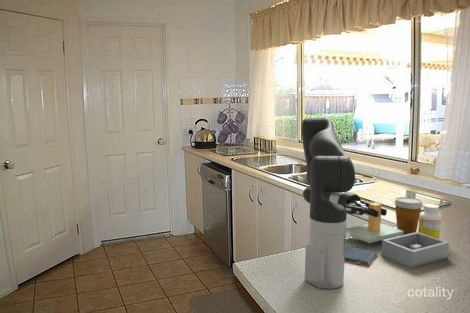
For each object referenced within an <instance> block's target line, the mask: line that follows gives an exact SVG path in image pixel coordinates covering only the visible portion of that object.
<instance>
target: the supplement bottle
mask: <svg viewBox="0 0 470 313" xmlns="http://www.w3.org/2000/svg"><path fill="white" fill-rule="evenodd" d="M422 210H423V211H421V212H420V216H419V221H418V229H417V230H418V231H417V232H419V233H422V234H425V235H428V236H431V237H434V238H437V239H440V240H441V234H442V233H441V232H442V231H441V229H442V220H443V218H442V217H443V216H442V214H440V213H439V210H440V206H439V205H437V204H433V203H426V204H424V203H423V206H422Z"/></svg>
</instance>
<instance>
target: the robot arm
mask: <svg viewBox="0 0 470 313" xmlns="http://www.w3.org/2000/svg"><path fill="white" fill-rule="evenodd" d="M301 140H302V147H303V154H304V157H305V166H306V180H307V184H309V185H308V186H307V187H306V188H304V189H303V192H302V197H303V199H304V201H306V203H308V204H309V227H308V244H307V245H306V246H305V252H304V253H305V256H304V257H305V258H304V259H305V260H304V280H305V281H306V282H307V283H309V284H311V285H312V286H314V287H315V288H317V289H319V290H321V289H329V290H330V289H331V290H333V289H338V288H340V287H342V286H343V285H344V283H345V281H344V280H345V246H346V235H347V232H346V228H347V214H349V215H358V216H363V215H365V216H369V215H371V216H374V217H378V215H379V211H378V210H374V209H371V208H369V204H371V203H378V202H376V201H375V200H371V201H366V200H364V199H361V198H360V195H358V194H356V193H353V192H350V191H351V190H352V189H353V187H354V185H355V183H356V171H355V166H354V163H353V161H352V160H351V158H350V156H349V155H348V154H347V153H346V152H345V151H344V150H343V147H342V144H341V141H340V140H339V138H338V136H337V134H336V132H335V127H334V123H333V121H332V119H331V118H329V117H327V116H321V117H308V118H304V119H303V120H302V122H301ZM387 210H388V209H386V208H383V207H381V216H383V217H385V216H387V212H388V211H387Z"/></svg>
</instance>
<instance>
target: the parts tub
mask: <svg viewBox="0 0 470 313" xmlns="http://www.w3.org/2000/svg"><path fill="white" fill-rule="evenodd" d="M449 248H450V242H448V241H445V240H442V239H441V238H440V239H437V238H434V237H431V236H428V235H425V234H422V233H419V232H418V231H416V232H415V233H410V234H401V235H397V237H393V238H389V239H384V240H381V253H380V254H381V257H384V258H386V259H388V260H391V261H393V262H396V263H398V264H400V265H403V266H405V267H407V268H409V269H412V270H413V269H417V268H420V267H424V266H427V265H430V264H434V263H437V262H441V261H444V260H447V259H449Z"/></svg>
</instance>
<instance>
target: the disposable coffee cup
mask: <svg viewBox="0 0 470 313" xmlns="http://www.w3.org/2000/svg"><path fill="white" fill-rule="evenodd" d="M393 204H394V206H395V219H396V229H399V230H402V231H404V234H403V235H406V234H410V233H415V232H418V231H417V230H418V227H419V216H420V213H421V212H422V209H423V205H424V203H423V201H422V200H421V199H419V198H416V197H415V198H414V197H408V196H401V197H400V196H399V197H396V198H395V200H394V201H393Z"/></svg>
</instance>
